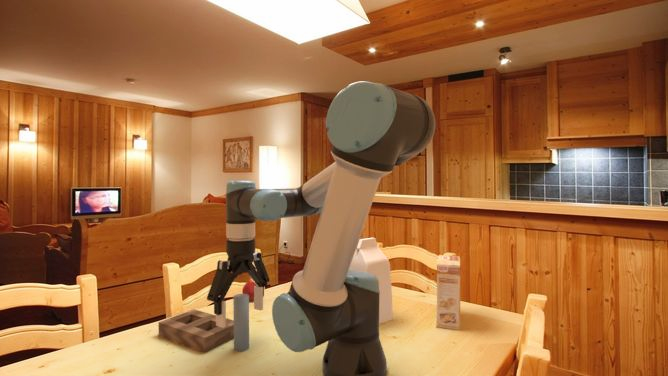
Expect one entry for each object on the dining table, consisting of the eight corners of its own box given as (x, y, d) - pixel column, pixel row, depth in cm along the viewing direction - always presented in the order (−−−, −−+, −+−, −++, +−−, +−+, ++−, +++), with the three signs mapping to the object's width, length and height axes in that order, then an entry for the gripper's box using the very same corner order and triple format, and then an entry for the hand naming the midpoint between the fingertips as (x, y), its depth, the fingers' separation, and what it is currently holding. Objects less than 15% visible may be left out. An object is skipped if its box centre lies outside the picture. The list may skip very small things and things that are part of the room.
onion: (241, 299, 134) (241, 278, 134) (256, 297, 137) (256, 276, 137) (244, 304, 129) (244, 282, 129) (259, 301, 132) (259, 280, 131)
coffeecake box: (460, 330, 106) (460, 265, 106) (435, 327, 108) (435, 263, 108) (459, 313, 120) (460, 255, 120) (437, 310, 122) (438, 254, 122)
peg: (252, 346, 96) (252, 295, 96) (241, 352, 92) (241, 299, 92) (241, 343, 98) (241, 292, 98) (230, 349, 95) (230, 296, 94)
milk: (366, 328, 107) (366, 243, 107) (341, 317, 116) (341, 238, 116) (393, 318, 115) (393, 239, 115) (368, 309, 124) (368, 234, 123)
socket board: (239, 335, 103) (239, 322, 102) (205, 353, 92) (204, 337, 92) (194, 321, 113) (193, 309, 113) (158, 335, 103) (158, 322, 103)
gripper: (262, 231, 107) (262, 301, 108) (191, 244, 86) (191, 331, 86) (281, 233, 103) (281, 305, 104) (212, 247, 82) (212, 338, 83)
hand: (240, 317), depth 95 cm, fingers open, 13 cm apart
